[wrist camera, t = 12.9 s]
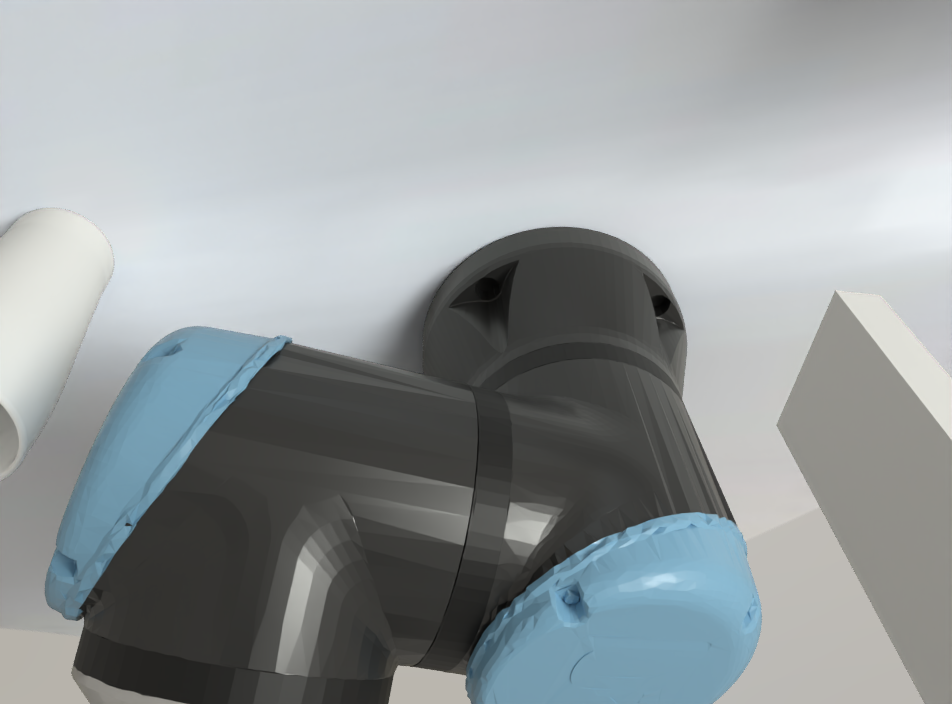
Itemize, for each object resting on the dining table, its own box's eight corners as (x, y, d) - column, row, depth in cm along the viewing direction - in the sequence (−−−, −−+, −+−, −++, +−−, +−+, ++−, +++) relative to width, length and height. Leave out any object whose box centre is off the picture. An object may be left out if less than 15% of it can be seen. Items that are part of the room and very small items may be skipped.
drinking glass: (100, 323, 49) (-9, 516, 36) (-22, 262, 46) (-183, 446, 34) (153, 235, 46) (55, 413, 33) (26, 164, 43) (-131, 328, 31)
